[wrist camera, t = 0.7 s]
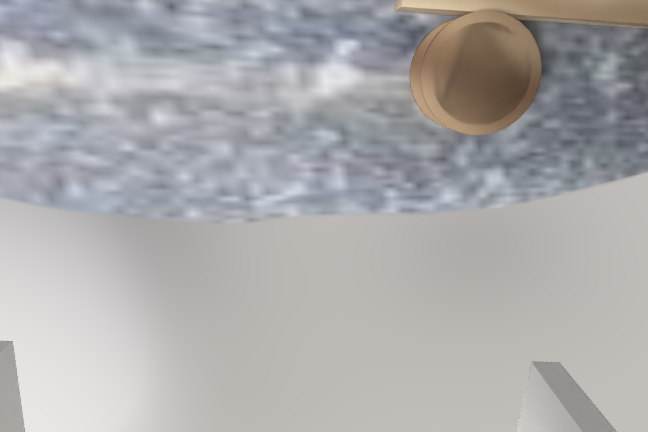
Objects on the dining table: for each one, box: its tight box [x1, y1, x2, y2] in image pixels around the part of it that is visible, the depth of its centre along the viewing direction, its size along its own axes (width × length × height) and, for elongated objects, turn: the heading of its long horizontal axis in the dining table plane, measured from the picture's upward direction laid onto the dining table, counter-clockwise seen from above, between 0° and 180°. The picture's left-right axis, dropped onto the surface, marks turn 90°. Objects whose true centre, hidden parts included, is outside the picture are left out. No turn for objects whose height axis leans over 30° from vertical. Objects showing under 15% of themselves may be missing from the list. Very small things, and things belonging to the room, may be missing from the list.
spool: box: [410, 11, 542, 135], centre depth 32 cm, size 7×7×4 cm
